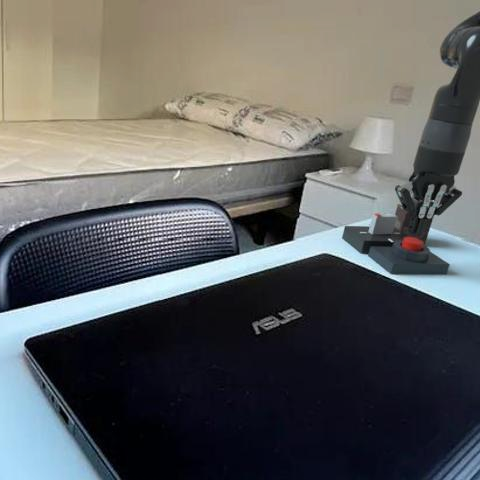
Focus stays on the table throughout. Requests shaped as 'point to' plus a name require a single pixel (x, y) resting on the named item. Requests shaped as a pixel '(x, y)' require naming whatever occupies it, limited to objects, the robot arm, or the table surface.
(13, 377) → the table surface
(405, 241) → the power button
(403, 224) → the box
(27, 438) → the table surface
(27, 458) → the table surface
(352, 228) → the panel
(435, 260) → the button block
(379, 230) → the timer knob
